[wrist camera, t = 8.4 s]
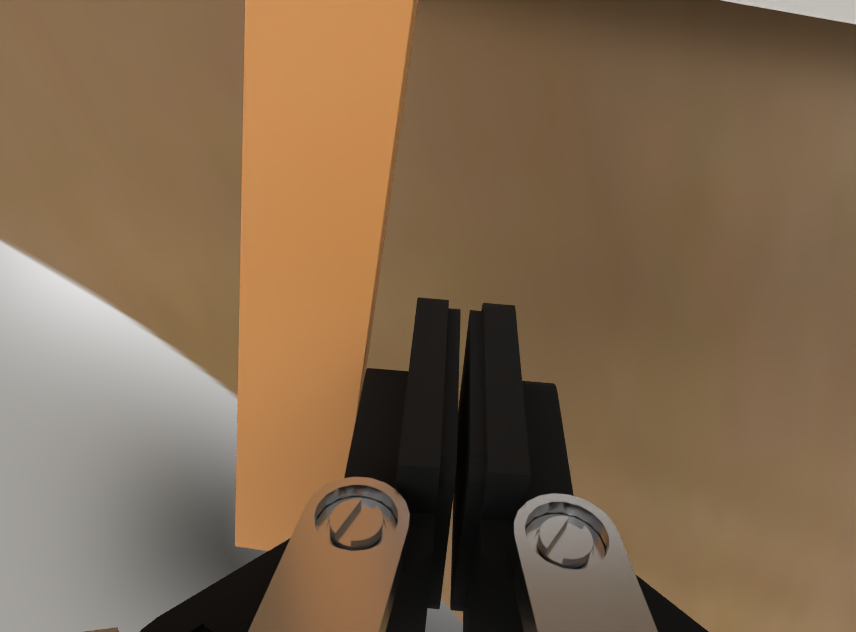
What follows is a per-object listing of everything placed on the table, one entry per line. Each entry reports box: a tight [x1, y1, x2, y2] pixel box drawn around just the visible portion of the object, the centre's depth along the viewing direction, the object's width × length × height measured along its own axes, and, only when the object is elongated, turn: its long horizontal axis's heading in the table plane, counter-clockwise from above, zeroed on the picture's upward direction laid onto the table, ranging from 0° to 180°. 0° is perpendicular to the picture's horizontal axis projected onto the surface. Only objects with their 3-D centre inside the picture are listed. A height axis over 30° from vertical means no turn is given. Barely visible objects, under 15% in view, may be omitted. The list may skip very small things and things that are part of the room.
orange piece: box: [235, 0, 418, 551], centre depth 13 cm, size 17×2×9 cm, turn 171°
